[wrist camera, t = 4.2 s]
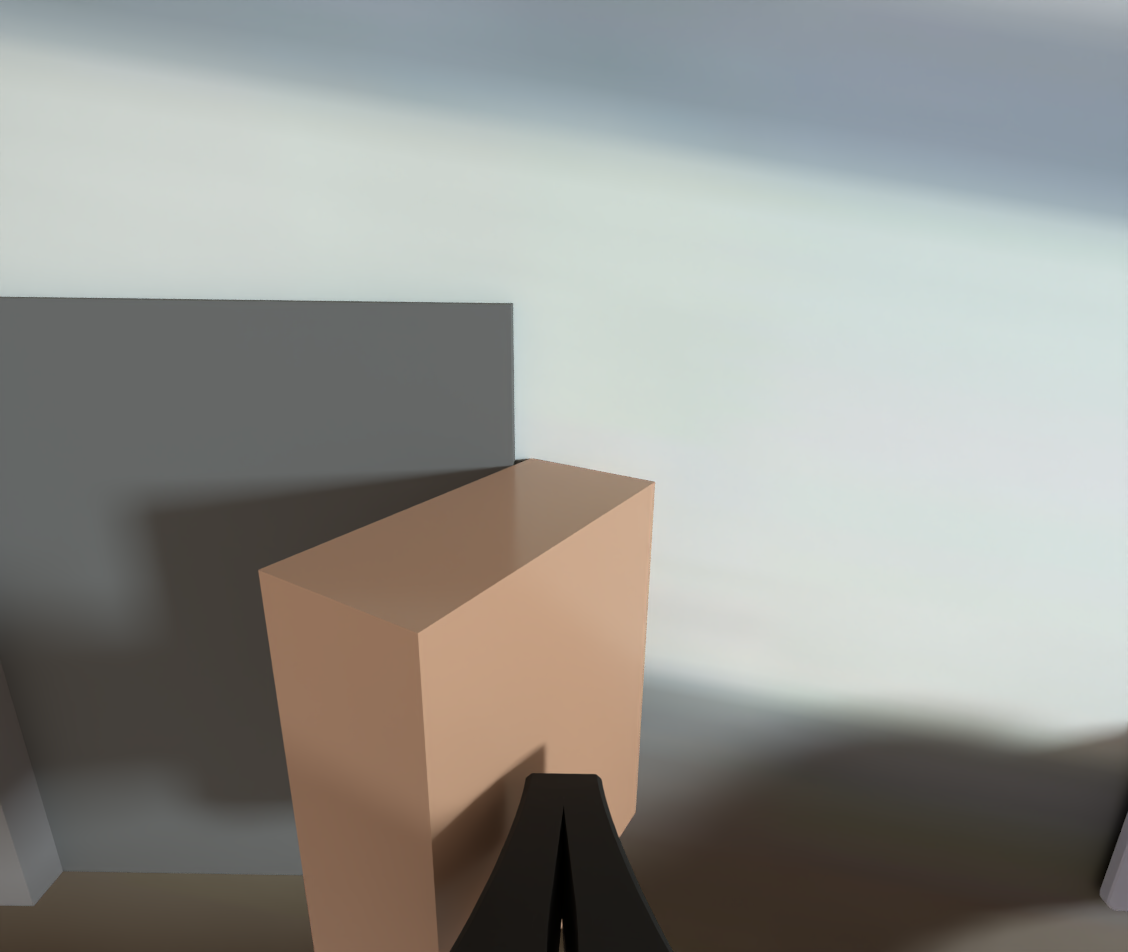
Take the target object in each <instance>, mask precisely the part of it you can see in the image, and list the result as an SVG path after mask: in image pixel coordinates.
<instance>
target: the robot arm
mask: <svg viewBox="0 0 1128 952" xmlns="http://www.w3.org/2000/svg"><path fill="white" fill-rule="evenodd" d="M1100 896H1101V898H1102V900H1103V901H1104V902H1105V903H1106V904H1107V906H1108V907H1109V908H1111V909H1113V910H1118V911H1128V813H1127V815H1126V818H1125V821H1124V824H1123V827H1122V830H1121V832H1120V835H1119V838H1118V841H1117V844H1116V846H1115V849H1114V852H1113V855H1112V858H1111V861H1110V863H1109V866H1108V869H1107V872H1106V875H1105V877H1104V880H1103V883H1102V886H1101V889H1100ZM561 922H562V927H563V941H564V952H673V950H672V948H671V947H670V945H669V943H668V941H667V939H666V937H665V936H664V934H663V932H662V930H661V928H660V926H659V924H658V922H657V920H656V918H655V916H654V914H653V912H652V910H651V908H650V906H649V904H648V902H647V901H646V898H645V896H644V894H643V892H642V890H641V888H640V886H639V884H638V881H637V879H636V877H635V875H634V872H633V870H632V868H631V865H630V863H629V861H628V858H627V856H626V854H625V851H624V849H623V846H622V844H621V841H620V839H619V836H618V834H617V831H616V828H615V825H614V822H613V820H612V817H611V814H610V810H609V807H608V804H607V800H606V797H605V793H604V789H603V783H602V779H601V778H600V777H599V776H598V775H597V774H561V773H531V774H530V775H529V776H527V777H526V779H525V784H524V789H523V793H522V796H521V800H520V803H519V806H518V809H517V812H516V815H515V818H514V821H513V823H512V826H511V829H510V831H509V834H508V836H507V839H506V841H505V843H504V846H503V848H502V850H501V852H500V855H499V857H498V859H497V862H496V864H495V866H494V869H493V871H492V873H491V875H490V877H489V879H488V881H487V883H486V885H485V887H484V889H483V891H482V893H481V895H480V897H479V899H478V901H477V903H476V905H475V907H474V909H473V911H472V913H471V914H470V916H469V918H468V920H467V922H466V924H465V925H464V927H463V929H462V931H461V933H460V934H459V936H458V938H457V940H456V941H455V943H454V945H453V947H452V948H451V950H450V952H559V943H560V932H561Z"/></svg>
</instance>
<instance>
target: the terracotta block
mask: <svg viewBox="0 0 1128 952" xmlns="http://www.w3.org/2000/svg"><path fill="white" fill-rule="evenodd" d="M654 491H655V482H653V481H648V480H643V479H637V478H632V477H627V476H622V475H616V474H611V473H606V472H601V471H596V470H590V469H585V468H580V467H575V466H569V465H564V464H559V463H554V462H548V461H543V460H538V459H528V460H525V461H523V462H520V463H518V464H516V465H513V466H511V467H508V468H506V469H503V470H501V471H499V472H496V473H494V474H491V475H489V476H486V477H484V478H481V479H479V480H477V481H474V482H472V483H469V484H467V485H464V486H462V487H459V488H457V489H455V490H452V491H450V492H447V493H445V494H442V495H440V496H437V497H435V498H433V499H430V500H428V501H425V502H423V503H420V504H418V505H415V506H413V507H411V508H408V509H406V510H403V511H401V512H398V513H396V514H394V515H391V516H389V517H386V518H384V519H381V520H379V521H376V522H374V523H372V524H369V525H367V526H364V527H362V528H359V529H357V530H354V531H352V532H350V533H347V534H345V535H342V536H340V537H337V538H335V539H332V540H330V541H328V542H325V543H323V544H320V545H318V546H315V547H313V548H310V549H308V550H306V551H303V552H301V553H298V554H296V555H293V556H291V557H288V558H286V559H284V560H281V561H279V562H276V563H274V564H271V565H269V566H267V567H264V568H262V569H259V570H258V572H259V579H260V586H261V593H262V599H263V606H264V613H265V620H266V627H267V633H268V640H269V647H270V654H271V660H272V667H273V674H274V681H275V688H276V694H277V701H278V708H279V715H280V722H281V728H282V735H283V742H284V749H285V755H286V762H287V769H288V776H289V783H290V789H291V796H292V803H293V810H294V817H295V823H296V830H297V837H298V844H299V851H300V857H301V864H302V871H303V878H304V884H305V891H306V898H307V905H308V912H309V918H310V925H311V932H312V939H313V946H314V952H450V950H451V948H452V947H453V945H454V943H455V941H456V940H457V938H458V936H459V934H460V933H461V931H462V929H463V927H464V925H465V924H466V922H467V920H468V918H469V916H470V914H471V913H472V911H473V909H474V907H475V905H476V903H477V901H478V899H479V897H480V895H481V893H482V891H483V889H484V887H485V885H486V883H487V881H488V879H489V877H490V875H491V873H492V871H493V869H494V866H495V864H496V862H497V859H498V857H499V855H500V852H501V850H502V848H503V846H504V843H505V841H506V839H507V836H508V834H509V831H510V829H511V826H512V823H513V821H514V818H515V815H516V812H517V809H518V806H519V803H520V800H521V796H522V793H523V789H524V784H525V779H526V777H527V776H529V775H530V774H531V773H561V774H597V775H598V776H599V777H600V778H601V779H602V783H603V789H604V793H605V797H606V800H607V804H608V807H609V810H610V814H611V817H612V820H613V822H614V825H615V828H616V831H617V834H618V836H619V837H620V836H621V834H622V833H623V831H624V830H625V828H626V826H627V825H628V823H629V822H630V820H631V819H632V817H633V815H634V814H635V812H636V797H637V780H638V763H639V746H640V729H641V712H642V695H643V678H644V661H645V644H646V627H647V610H648V593H649V576H650V559H651V542H652V525H653V508H654ZM561 928H562V922H561Z"/></svg>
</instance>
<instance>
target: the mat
mask: <svg viewBox="0 0 1128 952" xmlns="http://www.w3.org/2000/svg"><path fill="white" fill-rule="evenodd" d="M513 465H515V437H514V353H513V303H440V302H362V301H285V300H208V299H131V298H54V297H0V905H3V906H34V905H35V904H36V903H37V901H38V900H39V899H40V898H41V897H42V896H43V894H44V893H45V892H46V891H47V890H48V888H49V887H50V886H51V885H52V884H53V882H54V881H55V880H56V879H57V878H58V877H59V875H60V874H61V873H62V872H63V871H82V872H142V873H201V874H261V875H303V871H302V864H301V857H300V851H299V844H298V837H297V830H296V823H295V817H294V810H293V803H292V796H291V789H290V783H289V776H288V769H287V762H286V755H285V749H284V742H283V735H282V728H281V722H280V715H279V708H278V701H277V694H276V688H275V681H274V674H273V667H272V660H271V654H270V647H269V640H268V633H267V627H266V620H265V613H264V606H263V599H262V593H261V586H260V579H259V572H258V570H259V569H262V568H264V567H267V566H269V565H271V564H274V563H276V562H279V561H281V560H284V559H286V558H288V557H291V556H293V555H296V554H298V553H301V552H303V551H306V550H308V549H310V548H313V547H315V546H318V545H320V544H323V543H325V542H328V541H330V540H332V539H335V538H337V537H340V536H342V535H345V534H347V533H350V532H352V531H354V530H357V529H359V528H362V527H364V526H367V525H369V524H372V523H374V522H376V521H379V520H381V519H384V518H386V517H389V516H391V515H394V514H396V513H398V512H401V511H403V510H406V509H408V508H411V507H413V506H415V505H418V504H420V503H423V502H425V501H428V500H430V499H433V498H435V497H437V496H440V495H442V494H445V493H447V492H450V491H452V490H455V489H457V488H459V487H462V486H464V485H467V484H469V483H472V482H474V481H477V480H479V479H481V478H484V477H486V476H489V475H491V474H494V473H496V472H499V471H501V470H503V469H506V468H508V467H511V466H513Z"/></svg>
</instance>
